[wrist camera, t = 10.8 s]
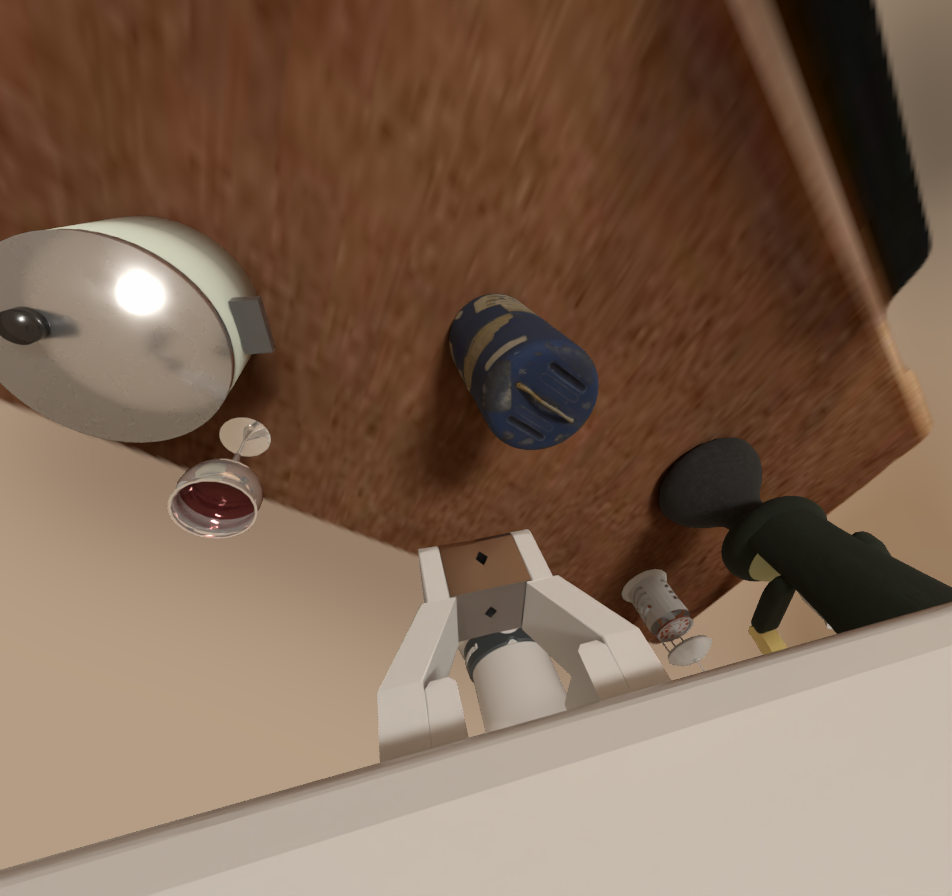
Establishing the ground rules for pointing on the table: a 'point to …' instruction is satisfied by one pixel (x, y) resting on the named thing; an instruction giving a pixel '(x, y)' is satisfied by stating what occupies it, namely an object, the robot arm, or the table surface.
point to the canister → (522, 372)
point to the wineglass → (222, 486)
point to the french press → (665, 616)
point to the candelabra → (790, 546)
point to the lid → (109, 337)
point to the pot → (201, 276)
